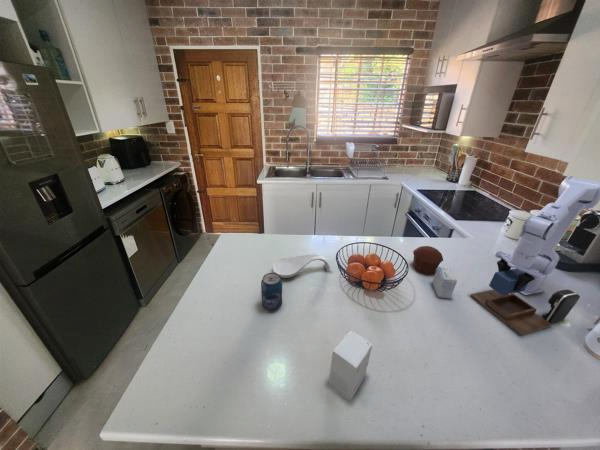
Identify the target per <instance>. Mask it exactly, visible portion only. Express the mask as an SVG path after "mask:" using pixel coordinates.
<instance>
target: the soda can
mask: <svg viewBox="0 0 600 450" xmlns="http://www.w3.org/2000/svg"><path fill="white" fill-rule="evenodd" d="M260 292H261V293H260V294H261V295H260V296H261V306H262V308H263V309H264V310H265V311H267V312H268V313H269V312H270V313H273V312H277V311H278V310H279V309H280V308H281V307H282V305H283V280H282V277H280V276H279V275H278V274H276V273H275V272H268V273H265V274H264V275H263V276H262V279H261V281H260Z"/></svg>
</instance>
